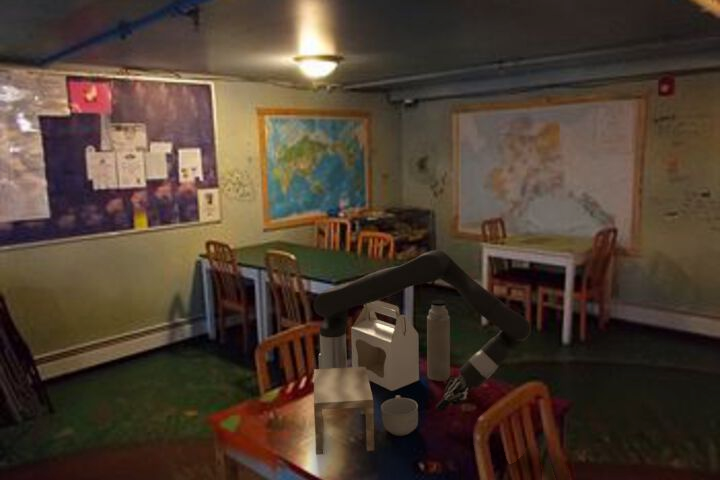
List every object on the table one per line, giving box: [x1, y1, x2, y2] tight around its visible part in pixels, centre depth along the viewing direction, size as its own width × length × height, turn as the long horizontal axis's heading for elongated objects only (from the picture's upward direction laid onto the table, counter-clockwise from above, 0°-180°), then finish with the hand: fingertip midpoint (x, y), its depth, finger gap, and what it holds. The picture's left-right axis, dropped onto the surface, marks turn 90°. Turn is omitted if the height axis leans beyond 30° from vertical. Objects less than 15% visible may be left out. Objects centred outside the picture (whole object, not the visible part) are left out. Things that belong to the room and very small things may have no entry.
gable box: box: [350, 300, 420, 392], centre depth 200 cm, size 22×13×28 cm, turn 40°
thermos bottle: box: [426, 299, 451, 382], centre depth 198 cm, size 8×8×28 cm
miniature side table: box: [313, 366, 375, 455], centre depth 163 cm, size 16×23×15 cm
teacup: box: [380, 394, 419, 436], centre depth 165 cm, size 14×11×8 cm
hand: (438, 409), depth 166 cm, fingers closed
